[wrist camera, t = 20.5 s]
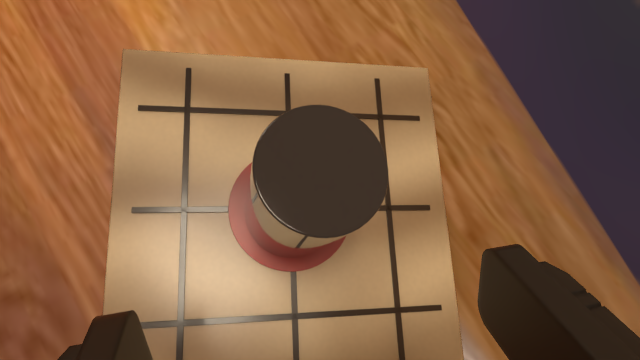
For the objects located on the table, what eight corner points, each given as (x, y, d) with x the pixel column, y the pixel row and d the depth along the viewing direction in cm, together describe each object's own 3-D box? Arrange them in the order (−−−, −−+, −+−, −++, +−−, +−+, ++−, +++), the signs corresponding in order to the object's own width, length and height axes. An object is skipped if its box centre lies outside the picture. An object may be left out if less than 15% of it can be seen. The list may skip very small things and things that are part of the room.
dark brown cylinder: (244, 165, 23) (251, 100, 16) (334, 166, 24) (383, 106, 17) (244, 259, 22) (252, 239, 14) (340, 256, 23) (395, 236, 15)
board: (128, 62, 25) (121, 47, 23) (418, 79, 29) (428, 66, 27) (104, 403, 20) (94, 412, 19) (452, 371, 24) (467, 375, 23)
